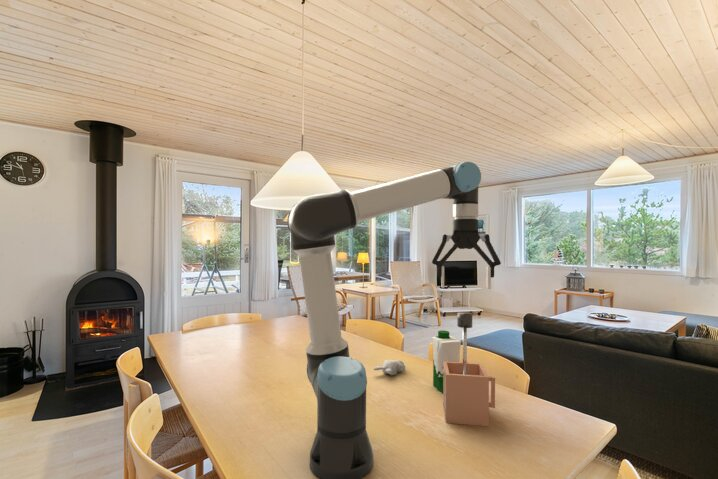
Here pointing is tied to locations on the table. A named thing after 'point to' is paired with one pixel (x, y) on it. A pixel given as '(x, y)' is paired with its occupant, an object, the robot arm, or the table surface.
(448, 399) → the square pink mug
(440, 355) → the soya milk
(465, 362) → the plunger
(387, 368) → the bunny figurine
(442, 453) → the table surface
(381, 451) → the table surface
